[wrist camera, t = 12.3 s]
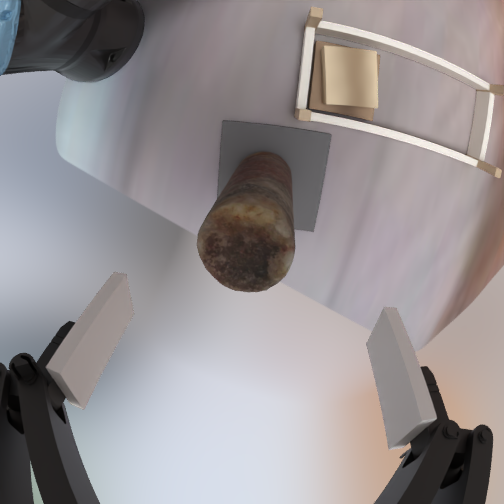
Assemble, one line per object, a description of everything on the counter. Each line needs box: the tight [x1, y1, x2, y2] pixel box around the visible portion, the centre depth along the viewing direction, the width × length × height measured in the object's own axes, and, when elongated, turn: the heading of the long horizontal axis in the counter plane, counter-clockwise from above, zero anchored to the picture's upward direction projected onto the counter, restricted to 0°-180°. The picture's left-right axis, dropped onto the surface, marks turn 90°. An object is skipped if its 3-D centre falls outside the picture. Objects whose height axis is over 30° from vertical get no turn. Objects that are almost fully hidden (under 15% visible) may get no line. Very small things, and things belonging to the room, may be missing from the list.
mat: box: [217, 121, 331, 232], centre depth 37 cm, size 14×14×1 cm
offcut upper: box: [320, 46, 378, 108], centre depth 27 cm, size 6×7×3 cm
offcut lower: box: [307, 41, 380, 121], centre depth 29 cm, size 8×9×3 cm
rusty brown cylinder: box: [197, 152, 295, 292], centre depth 29 cm, size 8×7×20 cm
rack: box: [294, 7, 504, 178], centre depth 26 cm, size 28×13×8 cm, turn 85°
